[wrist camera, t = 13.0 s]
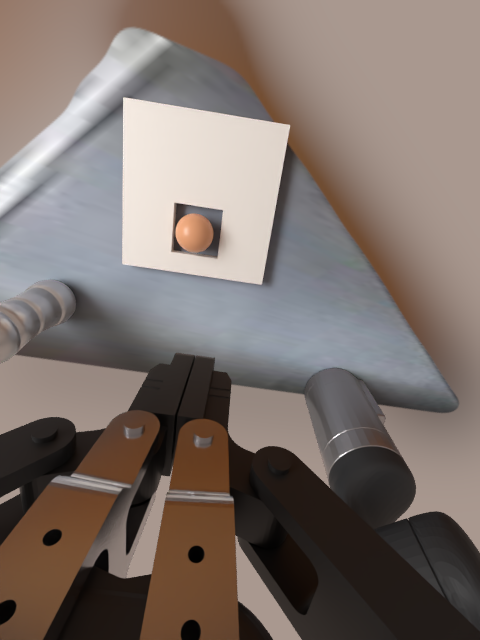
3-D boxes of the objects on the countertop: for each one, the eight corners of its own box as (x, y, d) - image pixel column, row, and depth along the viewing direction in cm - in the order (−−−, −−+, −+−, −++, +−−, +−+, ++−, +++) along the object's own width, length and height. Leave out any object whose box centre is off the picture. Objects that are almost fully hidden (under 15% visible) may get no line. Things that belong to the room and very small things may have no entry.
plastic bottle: (47, 319, 50) (-72, 394, 31) (32, 277, 47) (-107, 332, 29) (87, 315, 49) (-10, 389, 31) (74, 273, 47) (-40, 326, 28)
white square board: (288, 127, 39) (290, 125, 38) (261, 282, 47) (261, 284, 45) (127, 100, 38) (123, 97, 37) (126, 261, 46) (122, 264, 45)
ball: (211, 255, 40) (209, 255, 45) (217, 215, 39) (215, 219, 44) (171, 249, 39) (174, 249, 44) (177, 207, 38) (179, 212, 43)
